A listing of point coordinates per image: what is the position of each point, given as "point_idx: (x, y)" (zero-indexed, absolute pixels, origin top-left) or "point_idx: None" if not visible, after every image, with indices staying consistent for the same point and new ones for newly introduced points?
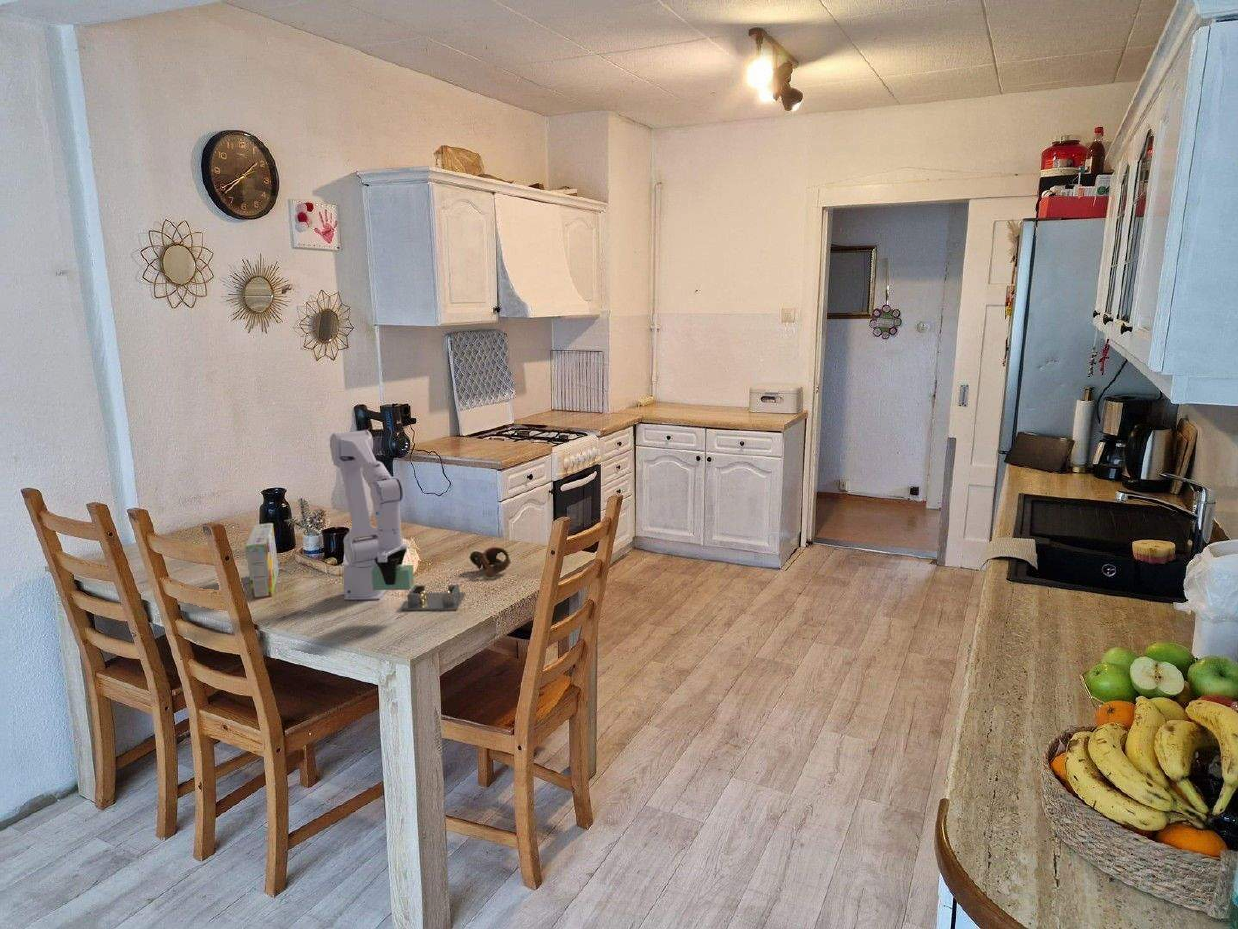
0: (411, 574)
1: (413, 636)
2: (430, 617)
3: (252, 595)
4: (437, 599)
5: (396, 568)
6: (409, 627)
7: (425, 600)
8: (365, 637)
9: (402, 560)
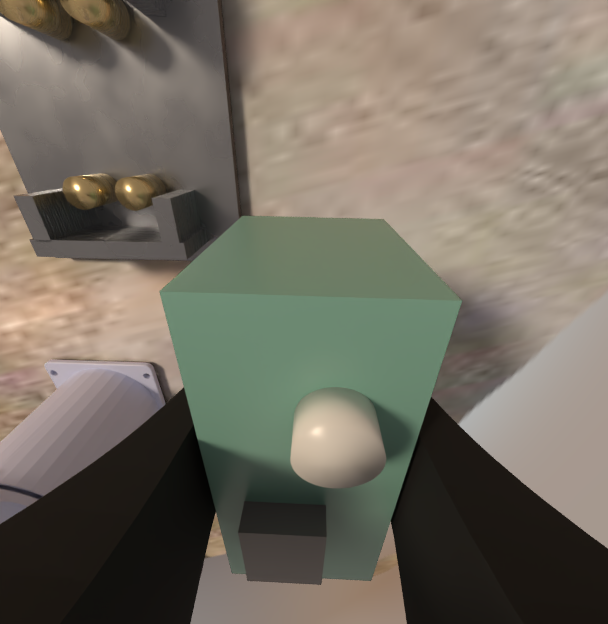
0: (288, 251)
1: (576, 119)
2: (327, 81)
3: (201, 571)
4: (92, 94)
5: (437, 473)
6: (445, 174)
7: (126, 169)
8: (498, 326)
9: (113, 476)
